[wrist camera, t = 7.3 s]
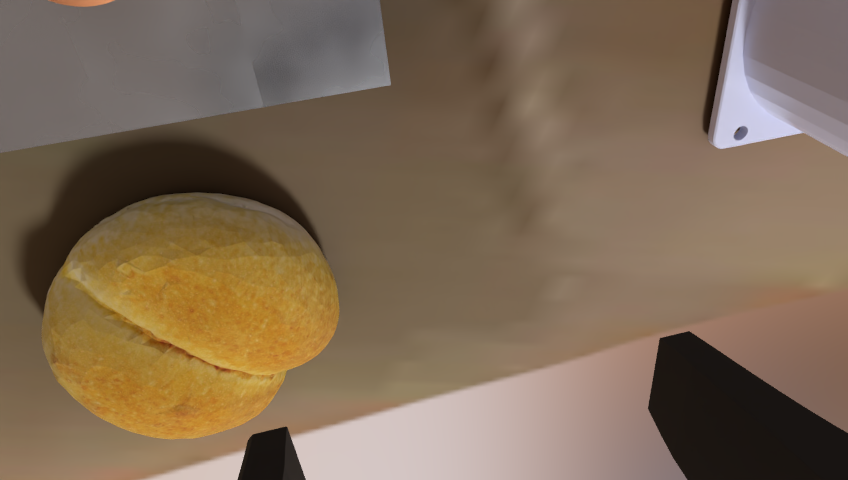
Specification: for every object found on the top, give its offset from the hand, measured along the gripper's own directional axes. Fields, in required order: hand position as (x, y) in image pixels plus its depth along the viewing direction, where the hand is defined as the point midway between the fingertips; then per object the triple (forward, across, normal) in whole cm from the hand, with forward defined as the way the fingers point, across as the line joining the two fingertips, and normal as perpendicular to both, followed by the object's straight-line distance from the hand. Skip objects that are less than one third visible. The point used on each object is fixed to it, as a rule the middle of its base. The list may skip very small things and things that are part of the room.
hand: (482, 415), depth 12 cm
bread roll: (+10, +7, +3) cm, 13 cm away
